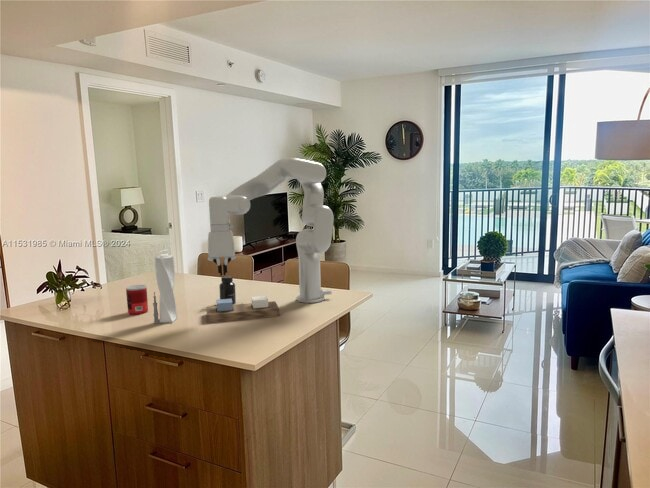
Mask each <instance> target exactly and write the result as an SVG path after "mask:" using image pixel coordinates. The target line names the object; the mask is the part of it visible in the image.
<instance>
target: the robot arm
mask: <svg viewBox="0 0 650 488" xmlns="http://www.w3.org/2000/svg"><path fill="white" fill-rule="evenodd" d="M326 177H327V170H326V168H325V166H324V165H323V164H322V163H320V162H318V161H317V162H316V161H313V160H312V161H310V160H308V159H307V160H306V159H302V158H298V157H285V158H280V159H278V160H277V161H275V162H274V163H273V164H271V165H270V166H268V168H265V170H263V171H262V172H260V173H259V174H258V175H257V176H255V177H252V178H251V179H250V180H248V181H246V182H244V183H242V184H241V185H239V186H237V187H235V188H234V189H232V190H231V191H230V192H229V193H228V194H226V195H225V196H222V195H221V196H211V197H210V198H209V199H208V207H209V224H210V225H209V227H210V231H209V232H208V234H207V252H208V254H207V255H208V256H207V261H209V262H213V263H215V264H216V266H217V273H218V274H219V275H220V276H221V277H223V276H227V275H226V274H227V273H228V264H229V263H230V262H231V261H233V260H236V259H237V256H236V250H235V249H236V248H235V238H234V233H233V231H232V229H235V224H231V218H230V215H239V216H240V215H245V214H247V213H248V212H249V211H250V210H251V200H254V199H256V198H259V197H263V196H266V195H268V194H271V193H272V192H273V191H274V190H275V189H277V188H278V187H280V186H281V185H282V184H283V183H285V182H286V181H288V180H290V179H291V180H292V179H294V180H297V181H298V182H299V184H300V185H301V186H302V188H303V192H304V195H303V196H304V197H303V206H302V211H301V212H302V213H301V220H302V223H303V224H304V225H306V226H309V227H313V229H311V228H306V229H305V228H304V229H302V230H300V231H299V232H298V233H297V235H296V237H295V245H296V250H297V257H298V280H299V281H298V282H299V295H297V296H296V298H295V299H296V301H297V302H299V303H304V304H305V303H306V304H309V303H310V304H311V303H312V304H313V303H319V302H323V301H324V300H325V295H332V292H333V291H332V290H331V289H329V290H328V289H323V288H322V286H321V285H322V282H321V278H322V277H321V258H320V254H323V253H325V252H327V251H328V249H329V248H330V246H331V243H332V236H333V229H334V220H335V218H334V212H333V210H332V209H331V208H330V207H329V206H327V205H324V199H325V198H324V197H325V194H324V188H323V185H322V183H323V182H324V180H325V179H326ZM221 258H223V259H224V261H223V264H222V263H221V261H220V259H221Z"/></svg>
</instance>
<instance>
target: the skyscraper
mask: <svg viewBox="0 0 650 488" xmlns="http://www.w3.org/2000/svg"><path fill="white" fill-rule="evenodd" d="M166 251H167V253H165V254H164V253H163V254H160V253H162V252H166ZM169 252H170V249H162V250H159V251H158V252H156V254H155V256H154V270H155V278H156V285H157V289H158V291H159V292H158V293H159V310H158V302H157V297H156V292H155V291H153V303H152V305H153V314H152V315H153V325H169V324H170V325H171V324H173V323H174V322H175V321H176V320H177V319H178V312H177V311H178V310H177V304H176V298H175V297H176V296H175V292H174V287H175V278H176V277H175V276H176V266H175V255H173V254H169ZM159 254H160V255H159ZM158 255H159V256H158ZM158 311H159V312H158Z"/></svg>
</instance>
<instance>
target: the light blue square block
mask: <svg viewBox="0 0 650 488" xmlns="http://www.w3.org/2000/svg"><path fill="white" fill-rule="evenodd" d="M233 305H234V304H232V299H221V300H220V299H216V306H217V312H218V311H230V310H233Z"/></svg>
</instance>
